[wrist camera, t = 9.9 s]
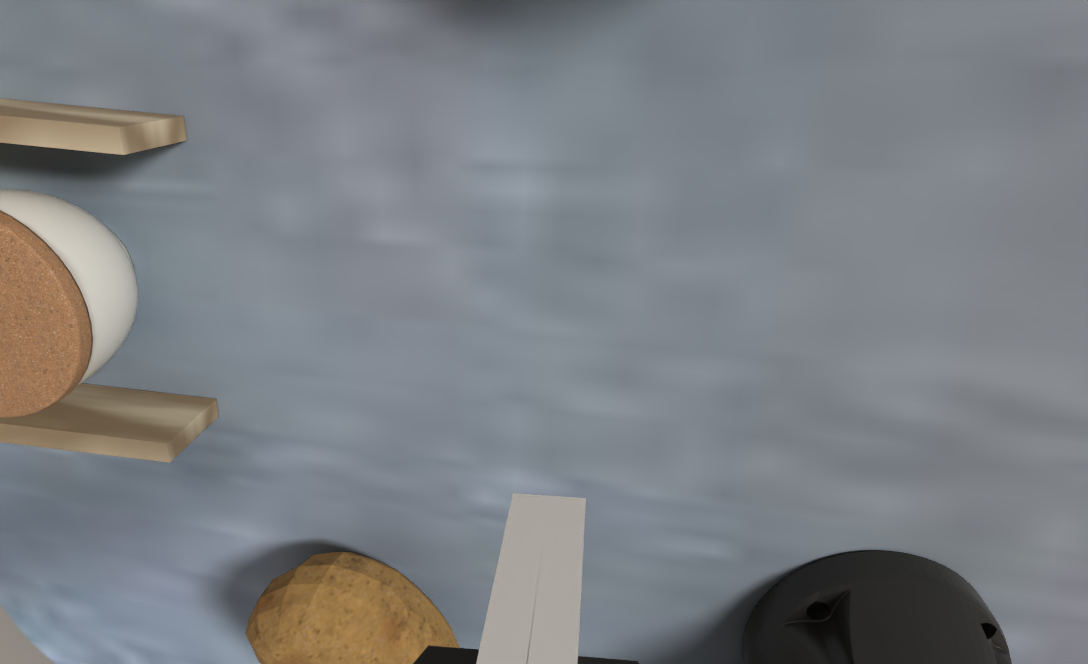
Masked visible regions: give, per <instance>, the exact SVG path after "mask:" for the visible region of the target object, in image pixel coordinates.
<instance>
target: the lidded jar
mask: <svg viewBox="0 0 1088 664" xmlns="http://www.w3.org/2000/svg"><path fill="white" fill-rule="evenodd" d="M137 304H138V284H137V279H136V275H135V271H134V266H133V263H132V260H131V258H130V256H129V254H128V252H127V250H126V248H125V247H124V245H123V244H122V242H121V241H120V240H119V239H118V238H117V237H116V235H115V234H114V233H113V232H111V231H110V230H109V229H108V228H107V227H106V226H105V225H104V224H102V223H101V222H100V221H99V220H98V219H97V218H95V217H94V216H92V215H91V214H89V213H88V212H86V211H85V210H83V209H81V208H79V207H77V206H75V205H73V204H71V203H69V202H67V201H65V200H62V199H60V198H57V197H54V196H51V195H47V194H43V193H38V192H33V191H28V190H18V189H0V417H5V418H10V417H21V416H27V415H30V414H34V413H38V412H40V411H42V410H44V409H46V408H48V407H50V406H52V405H54V404H55V403H57V402H58V401H60V400H61V399H62V398H64V397H65V396H66V395H68V394H69V393H70V392H71V391H73V389H74V388H75V387H77V386H78V385H79V384H81V383H82V382H84V381H85V380H86V379H88V378H89V377H90V376H92V375H93V374H94V373H96V372H97V371H98V370H99V369H100V368H101V367H103V366H104V365H105V364H106V363H107V362H108V361H109V360H110V359H111V357H112V356H113V355H114V354H115V353H116V352H117V350H118V349H119V348H120V347H121V346H122V344H123V343H124V341H125V340H126V338H127V336H128V334H129V332H130V330H131V328H132V326H133V323H134V320H135V317H136V313H137Z"/></svg>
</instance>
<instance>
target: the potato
mask: <svg viewBox="0 0 1088 664" xmlns="http://www.w3.org/2000/svg"><path fill="white" fill-rule="evenodd" d="M246 635H247V637H248V639H249V641H250V643H251V645H252V647H253V650H254V652H255V654H256V656H257V659H258V661H259V662H260V663H261V664H413V663H414V662H415V661H416V660H417V658H418V657H419V656H420V655H421V654H422V652H423V651H424V650H425V649H426V648H427V646H428V645H430V646H441V647H453V648H460V647H459V645H458V643H457V641H456V638H455V636H454V634H453V631H452V629H451V627H450V626H449V624H448V622H447V621H446V619H445V618H444V616H443V615H442V614H441V612H440V611H439V610H438V609H437V607H436V606H435V605H434V604H433V602H432V601H431V600H430V599H429V598H428V597H427V596H426V595H425V594H424V593H423V592H422V591H421V590H420V589H419V588H418V587H417V586H416V585H415V584H414V583H413V582H412V581H410V580H409V579H408V578H406V577H405V576H404V575H403V574H401V573H400V572H399V571H398V570H396V569H395V568H392V567H390V566H388V565H386V564H384V563H381V562H379V561H377V560H375V559H372V558H369V557H366V556H362V555H359V554H356V553H353V552H328V553H322V554H315V555H312V556H311V557H310V558H309V559H307V560H306V561H305V562H304V563H302V564H301V565H300V566H298V567H296V568H294V569H292V570H291V571H289V572H287V573H285V574H283V575H281V576H279V577H277V578H275V579H273V580H272V582H271V583H270V584H269V586H268V587H267V588H266V590H265V591H264V593H263V594H262V595H261V597H260V598H259V600H258V602H257V604H256V606H255V608H254V610H253V612H252V614H251V616H250V618H249V621H248V626H247V630H246Z"/></svg>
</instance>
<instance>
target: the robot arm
mask: <svg viewBox="0 0 1088 664" xmlns="http://www.w3.org/2000/svg"><path fill="white" fill-rule="evenodd" d="M585 503H586V498H574V497H559V496H544V495H530V494H515V493H513V495H512V500H511V505H510V509H509V514H508V519H507V523H506V528H505V532H504V537H503V542H502V546H501V551H500V556H499V560H498V565H497V570H496V574H495V579H494V583H493V588H492V593H491V597H490V602H489V607H488V611H487V616H486V620H485V625H484V630H483V634H482V639H481V644H480V648H479V650H477V649H465V648H453V647H441V646H430V645H428V646H427V648H426V649H425V650H424V651H423V652H422V654H421V655H420V656H419V657H418V658H417V660H416V661H415V662H414V663H413V664H639V663H638V661H628V660H617V659H605V658H593V657H581V656H578V643H579V623H580V603H581V583H582V563H583V543H584V523H585ZM743 659H744V664H1012V662H1011V658H1010V653H1009V649H1008V646H1007V642H1006V639H1005V636H1004V634H1003V632H1002V630H1001V628H1000V626H999V624H998V622H997V621H996V619H995V617H994V616H993V615H992V613H991V612H990V610H989V609H988V607H987V606H986V604H985V603H984V601H983V600H982V598H981V597H980V595H979V594H978V593H977V591H976V590H975V589H974V588H973V587H972V586H971V585H970V584H969V583H968V582H967V581H966V580H965V579H964V578H963V577H961V576H960V575H959V574H957V573H956V572H954V571H952V570H951V569H949V568H947V567H945V566H943V565H941V564H939V563H937V562H935V561H932V560H929V559H926V558H923V557H919V556H916V555H911V554H906V553H900V552H890V551H865V552H855V553H848V554H843V555H838V556H834V557H830V558H827V559H824V560H821V561H818V562H815V563H813V564H810V565H808V566H806V567H804V568H802V569H800V570H798V571H796V572H794V573H793V574H791V575H789V576H788V577H786V578H785V579H784V580H782V581H781V582H779V583H778V584H777V585H776V586H775V587H773V588H772V589H771V590H770V591H769V592H768V593H767V594H766V595H765V596H764V597H763V598H762V600H761V601H760V602H759V604H758V605H757V606H756V608H755V609H754V611H753V613H752V614H751V616H750V618H749V621H748V623H747V626H746V629H745V633H744V637H743Z"/></svg>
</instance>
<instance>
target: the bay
mask: <svg viewBox="0 0 1088 664" xmlns="http://www.w3.org/2000/svg"><path fill="white" fill-rule="evenodd" d="M183 141H187V139H186V131H185V122H184V116H176V115H166V114H156V113H145V112H135V111H125V110H114V109H104V108H94V107H84V106H73V105H63V104H53V103H42V102H32V101H22V100H12V99H1V98H0V143H10V144H20V145H30V146H39V147H49V148H59V149H69V150H79V151H89V152H99V153H109V154H119V155H126V154H130V153H135V152H139V151H143V150H148V149H152V148H157V147H161V146H165V145H170V144H174V143H178V142H183ZM217 417H218V408H217V399H213V398H204V397H196V396H187V395H178V394H170V393H161V392H153V391H144V390H135V389H127V388H118V387H109V386H101V385H92V384H84V383H81V384H79V385H78V386H77V387H75V388H74V389H73V391H71V392H70V393H69V394H68V395H66V396H65V397H64V398H62V399H61V400H60V401H58V402H57V403H55V404H54V405H52V406H50V407H48V408H46V409H44V410H42V411H40V412H38V413H34V414H30V415H27V416H21V417H10V418H5V417H0V442H4V443H12V444H20V445H29V446H37V447H45V448H53V449H62V450H70V451H78V452H86V453H95V454H103V455H111V456H120V457H128V458H136V459H144V460H153V461H161V462H169V463H170V462H171V461H172V460H173V459H175V458H176V457H177V456H178V455H179V454H180V453H181V452H182V451H183V450H184V449H185V448H186V447H187V446H188V445H189V444H190V443H191V442H192V441H193V440H194V439H195V438H196V437H198V436H199V435H200V434H201V433H202V432H203V431H204V430H205V429H206V428H207V427H208V426H209V425H210V424H211V423H212V422H213V421H214V420H215V419H216V418H217Z"/></svg>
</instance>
